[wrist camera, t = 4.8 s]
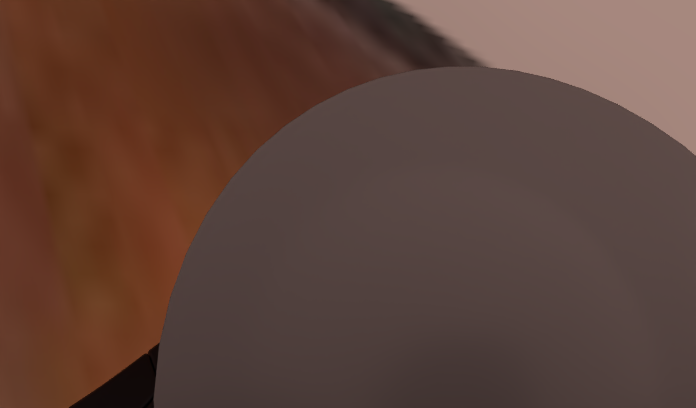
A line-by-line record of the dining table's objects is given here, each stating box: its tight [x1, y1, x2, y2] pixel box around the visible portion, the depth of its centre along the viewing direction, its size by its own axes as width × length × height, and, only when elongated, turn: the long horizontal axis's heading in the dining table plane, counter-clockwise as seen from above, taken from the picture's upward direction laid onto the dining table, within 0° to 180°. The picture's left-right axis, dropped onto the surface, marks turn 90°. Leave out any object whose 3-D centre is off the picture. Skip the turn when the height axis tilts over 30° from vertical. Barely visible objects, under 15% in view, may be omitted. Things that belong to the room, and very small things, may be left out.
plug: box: [154, 67, 696, 408], centre depth 8 cm, size 4×4×13 cm
